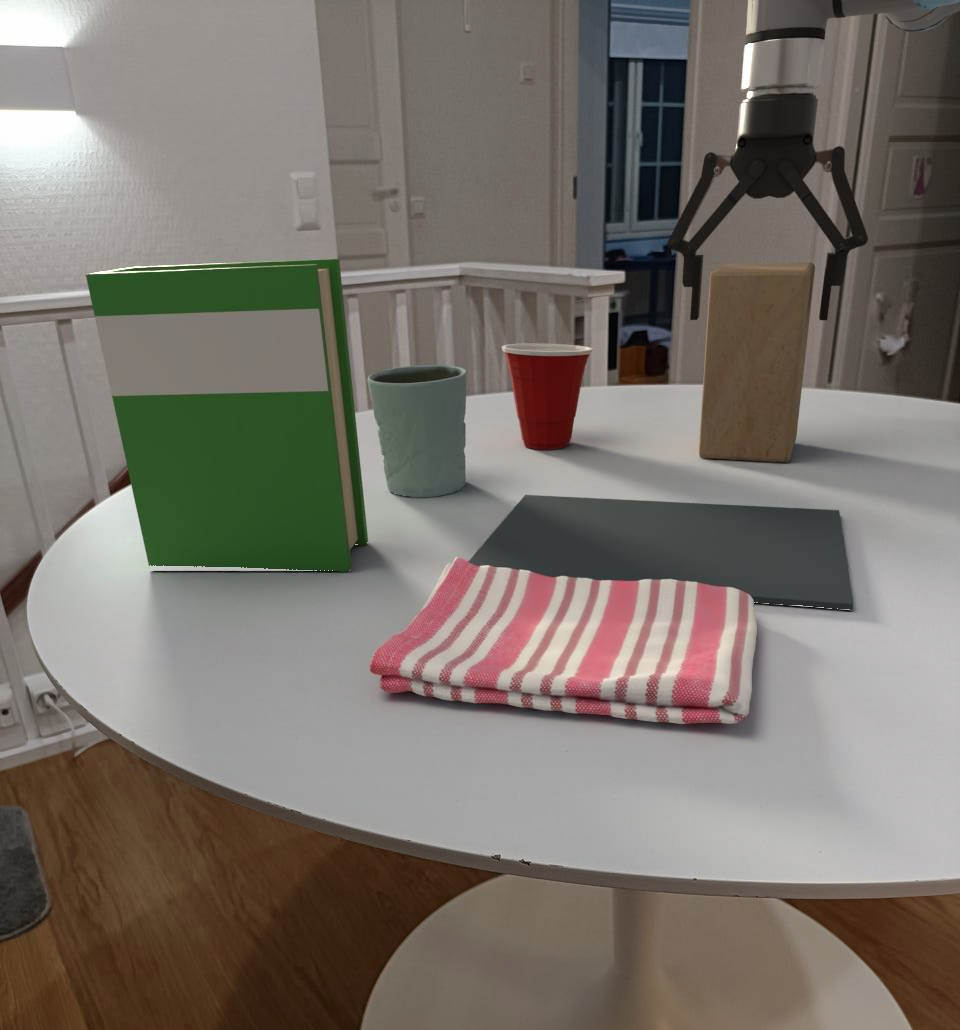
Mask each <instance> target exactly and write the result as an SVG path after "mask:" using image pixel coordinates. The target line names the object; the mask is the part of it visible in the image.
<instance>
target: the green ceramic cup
mask: <svg viewBox="0 0 960 1030" xmlns="http://www.w3.org/2000/svg"><path fill="white" fill-rule="evenodd" d="M467 372H468V371H467V370H466V369H465V368H463V367H460V366H455V365H449V364H448V365H446V364H420V365H419V364H418V365H410V366H409V365H408V366H400V367H393V368H388V369H383V370H380V371H377V372H373V373H371V374H370V375H368V376H367V385H368V389H369V390H368V391H369V395H370V399H371V405H372V410H373V416H374V420H375V422H376V425H377V427H378V429H377V437H378V441H379V446H380V452H381V455H382V456H383V462H382V463H383V470H384V471H383V472H384V475H385V482H386V487H387V490H388V491H389V490H390V491H391V492H393V493H396V494H398V495H397V496H399V495H405V496H411V497H410V498H433V497H442V496H445V495H446V496H447V495H451V494H454V493H455V492H458V491H460V490H462V489H463V488H464V487H465V485H466V481H467V477H466V476H467V473H466V472H467V471H466V470H467V469H466V468H467V466H466V461H467V460H466V454H465V448H466V443H467V442H466V441H467V439H466V435H467V432H466V431H467V429H466V428H467V427H466V422H465V417H466V412H467V411H466V410H467V409H466V408H467V407H466V406H467V405H466V404H467V375H468V373H467ZM390 491H389V492H390ZM391 492H390V493H391ZM393 493H392V494H393Z"/></svg>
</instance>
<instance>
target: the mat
mask: <svg viewBox="0 0 960 1030" xmlns="http://www.w3.org/2000/svg"><path fill="white" fill-rule="evenodd" d="M844 539H845V538H844V532H843V527H842V519H841V513H840V510H839V509H825V508H824V509H823V508H805V507H804V508H802V507H786V506H785V507H783V506H764V505H763V506H762V505H761V506H760V505H743V504H742V505H741V504H722V503H703V502H702V503H701V502H699V503H698V502H681V501H679V502H678V501H661V500H660V501H658V500H639V499H638V500H637V499H620V498H619V499H618V498H599V497H598V498H597V497H581V496H580V497H578V496H577V497H576V496H557V495H536V494H525V495H524V496H523V497H522V498H521V499H520V500H519V502H517V504H515V506H514V507H513V508H512V510H511V511H510V512H509V513H508V514H507V515H506V517H505V518H504V519H503V520H502V521H501V522H500V524H499V525H498V526H497V527H496V528H495V529H494V530H493V532H492V533H491V534H490V535H489V537H487V539H486V540H485V541H484V542H483V544H482V545H480V547H479V548H478V549H477V550H476V552H475V553H474V554H473V555H472V557H470V559H468V560H467V561H468V562H469V563H470V564H473V565H475V566H478V567H479V566H486V565H489V566H492V567H501V568H510V569H515V570H528V571H531V572H533V573H536V574H540V575H543V576H548V577H559V576H568V577H572V578H589V579H593V580H613V581H639V580H643V579H653V580H662V579H673V580H679V581H689V582H698V583H702V584H707V585H712V586H718V587H732V588H735V589H738V590H741V591H743V592H745V593H747V594H749V595H750V596H751V597H752V599H753V600H754V602H755V603H756V602H758V603H769V604H783V605H803V606H813V607H824V608H832V609H837V608H838V609H850V610H852V611H853V607H854V602H853V594H852V587H851V581H850V574H849V567H848V559H847V554H846V547H845V546H846V545H845V540H844Z"/></svg>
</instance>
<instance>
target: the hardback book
mask: <svg viewBox="0 0 960 1030" xmlns="http://www.w3.org/2000/svg"><path fill="white" fill-rule="evenodd" d="M341 272H342V271H341V264H340V258H316V259H294V260H293V259H291V260H271V261H267V260H266V261H246V262H243V261H242V262H221V263H196V264H195V263H193V264H173V265H171V264H170V265H169V264H168V265H147V266H146V265H145V266H128V267H122V268H116V269H109V270H103V271H97V272H91V273H86V274H85V279H86V283H87V288H88V291H89V296H90V302H91V305H92V310H93V315H94V319H95V324H96V328H97V333H98V339H99V342H100V346H101V352H102V356H103V360H104V364H105V365H104V366H105V370H106V374H107V380H108V385H109V388H110V393H111V398H112V403H113V407H114V412H115V416H116V417H115V418H116V421H117V427H118V430H119V435H120V439H121V444H122V449H123V453H124V457H125V462H126V463H125V464H126V467H127V472H128V476H129V480H130V486H131V489H132V494H133V500H134V503H135V508H136V513H137V518H138V522H139V526H140V531H141V537H142V541H143V545H144V550H145V554H146V560H147V563H148V567H149V566H150V565H151V566H153V565H154V566H155V565H156V566H163V565H164V566H194V567H195V566H196V567H197V566H202V567H203V566H205V567H241V568H242V567H244V568H246V567H247V568H264V569H266V568H268V569H286V570H287V569H289V570H292V569H293V570H296V569H297V570H313V571H314V570H317V571H320V570H321V571H324V570H325V571H328V570H329V571H332V570H333V571H349V570H350V569H351V570H352V568H351V567H352V560H351V559H352V558H351V550H352V549H353V547H354V546H356V545H355V544H358V545H357V546H367V545H368V543H369V535H368V525H367V516H366V507H365V506H366V505H365V495H364V488H363V486H364V485H363V477H362V468H361V467H362V466H361V457H360V447H359V437H358V430H357V418H356V408H355V401H354V399H355V398H354V390H353V381H352V371H351V360H350V350H349V342H348V331H347V323H346V321H347V320H346V311H345V301H344V293H343V292H344V291H343V284H342V283H343V282H342V274H341ZM367 542H368V543H367ZM366 544H367V545H366ZM351 570H350V571H351ZM350 571H349V572H350Z"/></svg>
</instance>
